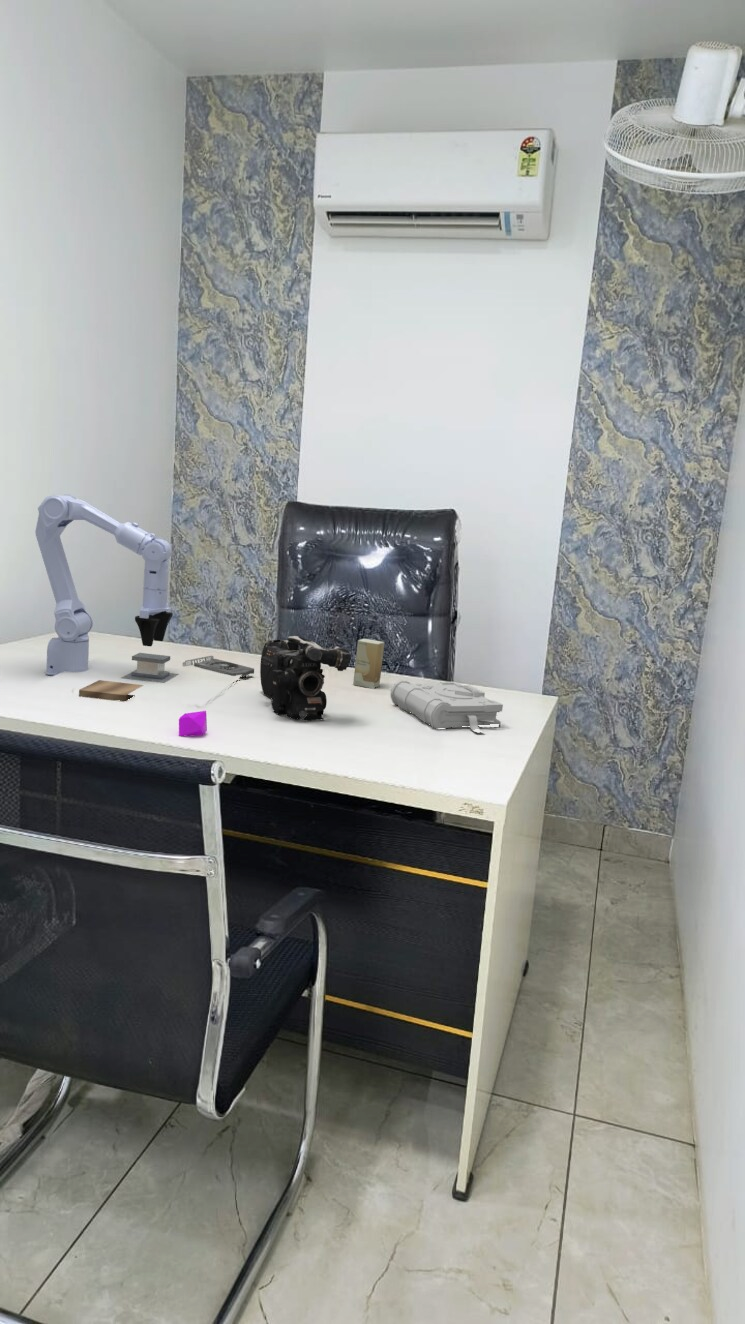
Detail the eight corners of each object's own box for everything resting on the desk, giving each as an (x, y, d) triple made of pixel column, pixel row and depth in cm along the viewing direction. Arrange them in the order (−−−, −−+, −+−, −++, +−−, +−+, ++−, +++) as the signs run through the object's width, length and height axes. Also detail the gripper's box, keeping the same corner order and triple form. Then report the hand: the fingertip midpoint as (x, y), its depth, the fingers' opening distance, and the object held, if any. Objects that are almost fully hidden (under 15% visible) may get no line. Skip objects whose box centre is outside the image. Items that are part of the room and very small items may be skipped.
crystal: (182, 729, 192) (183, 708, 191) (208, 732, 192) (209, 710, 191) (176, 736, 187) (177, 714, 186) (203, 739, 186) (204, 717, 186)
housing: (131, 676, 228) (131, 656, 227) (138, 672, 233) (139, 652, 232) (162, 679, 227) (163, 659, 226) (169, 675, 232) (170, 656, 231)
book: (440, 738, 203) (444, 704, 202) (387, 705, 228) (390, 675, 227) (514, 736, 211) (519, 704, 210) (455, 705, 236) (459, 676, 235)
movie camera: (359, 720, 208) (360, 643, 205) (284, 727, 200) (284, 647, 197) (307, 692, 235) (308, 624, 232) (240, 697, 228) (240, 627, 225)
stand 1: (78, 696, 211) (79, 689, 210) (99, 686, 221) (99, 680, 221) (125, 701, 209) (125, 695, 209) (143, 691, 220) (143, 685, 220)
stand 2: (120, 683, 225) (120, 677, 225) (137, 674, 236) (137, 669, 236) (163, 688, 224) (164, 682, 224) (179, 679, 235) (179, 673, 234)
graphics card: (179, 660, 244) (211, 654, 254) (179, 674, 245) (211, 667, 254) (226, 672, 235) (258, 666, 245) (226, 687, 236) (257, 679, 245)
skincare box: (352, 685, 246) (356, 640, 243) (358, 682, 249) (362, 637, 247) (374, 689, 243) (378, 643, 241) (380, 686, 247) (384, 641, 245)
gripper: (160, 593, 218) (158, 650, 220) (181, 587, 232) (178, 640, 235) (132, 590, 219) (129, 646, 221) (154, 584, 233) (151, 637, 235)
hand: (153, 643), depth 228 cm, fingers open, 7 cm apart
